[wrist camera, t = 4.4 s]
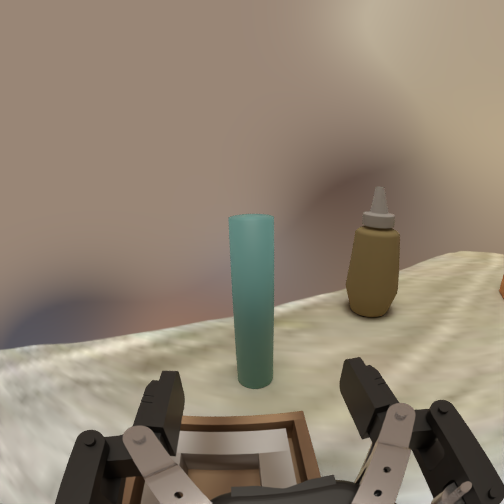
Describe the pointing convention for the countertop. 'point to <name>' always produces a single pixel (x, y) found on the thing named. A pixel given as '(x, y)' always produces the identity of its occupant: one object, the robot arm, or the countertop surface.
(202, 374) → the countertop surface
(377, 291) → the squeeze bottle
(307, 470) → the tray
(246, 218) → the dowel
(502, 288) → the whiskey bottle
